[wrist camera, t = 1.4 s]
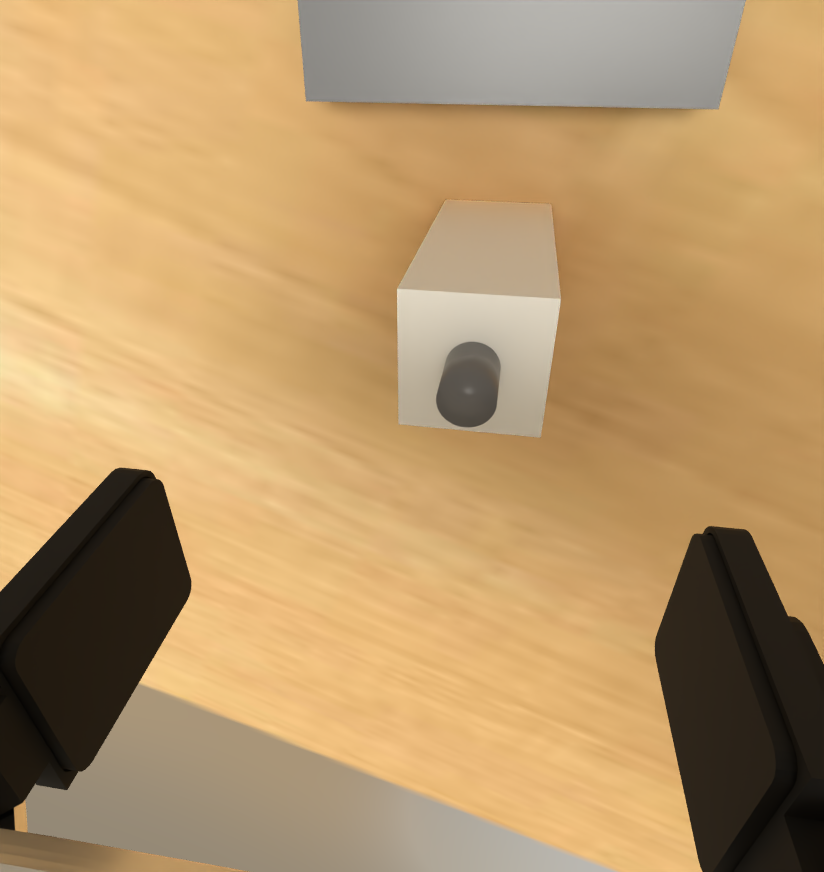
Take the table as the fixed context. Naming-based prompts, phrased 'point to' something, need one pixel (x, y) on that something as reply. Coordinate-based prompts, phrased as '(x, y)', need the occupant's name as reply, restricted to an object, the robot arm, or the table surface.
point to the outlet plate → (519, 51)
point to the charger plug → (479, 319)
